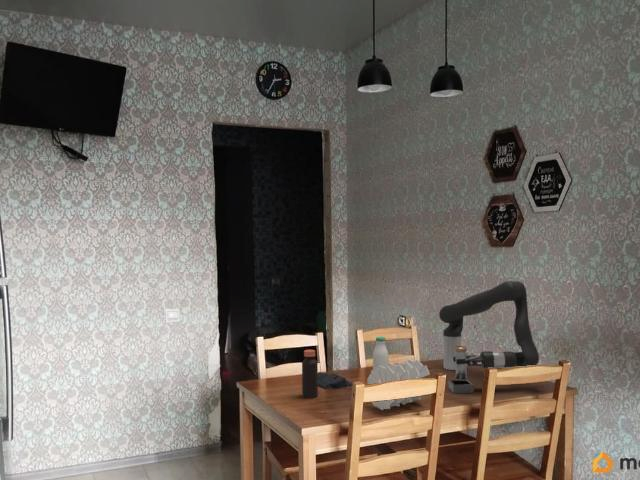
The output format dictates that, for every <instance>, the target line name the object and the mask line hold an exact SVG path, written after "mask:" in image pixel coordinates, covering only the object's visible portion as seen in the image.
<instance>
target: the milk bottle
mask: <svg viewBox="0 0 640 480" xmlns="http://www.w3.org/2000/svg"><path fill="white" fill-rule="evenodd" d="M375 343H376V344H375V347H374V349H373V353H372V370H374V369H376V368H378V366H382V367H384V366H388V365H390V361H389V358H390V357H389V352H388V349H387V346H386V337H384V336H377V337H376V336H375Z"/></svg>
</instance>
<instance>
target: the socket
mask: <svg viewBox="0 0 640 480" xmlns="http://www.w3.org/2000/svg"><path fill="white" fill-rule="evenodd" d="M474 387H475V385H474V384H473V383H472V382H471V381H470V380H468V379H463V380H461V379H449V380H448V389H449V390H450V391H451V392H452V393H453V394H474V393H475V388H474Z"/></svg>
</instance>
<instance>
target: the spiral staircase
mask: <svg viewBox="0 0 640 480" xmlns="http://www.w3.org/2000/svg"><path fill="white" fill-rule="evenodd" d="M429 375H430V371H429V368H428V366H427V365H423V363H421V361H419V359H415V360H412V359H408V358H407V361H405V362H401V361H400V362H399V361H397V362H396V364H394V363H392V362H389V365H388V366H384V367H382V366H378V368H376V369H374V370H373V369H372V370H370V374H369V376H367V379H366V382H367V384H374V383H381V382H387V381H393V380H401V379H412V378H420V379H421V378H424V377H427V376H429ZM421 400H422V399H421V396H419V397H413V398H412V397H411V398H405V399H404V398H403V399H396V400H387V401H379V402H371V403H372V405H373V406H374V408H375V407H376V408H377V409H379V410H381V411H384V410H390V409H391V408H393V407H400V406H401V405H403V406H405V405H406V404H409V403H414V401H421ZM400 404H401V405H400Z"/></svg>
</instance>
